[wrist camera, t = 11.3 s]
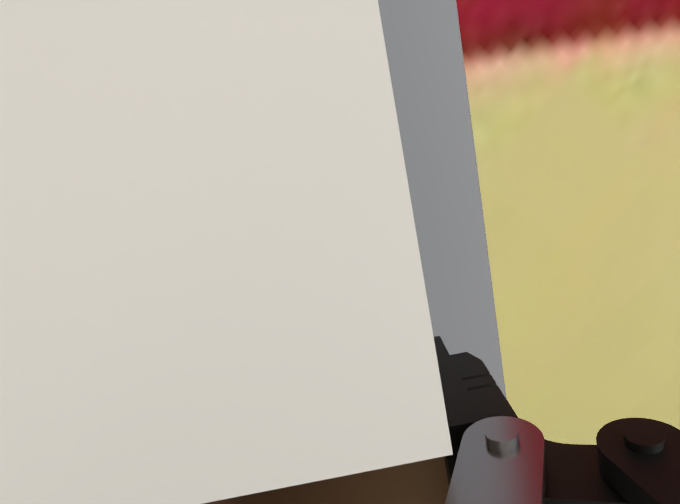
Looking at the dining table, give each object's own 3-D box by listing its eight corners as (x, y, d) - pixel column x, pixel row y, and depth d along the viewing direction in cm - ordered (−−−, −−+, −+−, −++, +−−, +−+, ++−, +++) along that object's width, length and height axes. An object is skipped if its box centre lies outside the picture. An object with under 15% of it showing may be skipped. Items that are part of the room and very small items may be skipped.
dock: (406, -131, 17) (430, -197, 13) (499, 529, 24) (532, 610, 21) (37, -53, 18) (-41, -96, 14) (236, 579, 25) (221, 668, 21)
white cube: (328, -35, 7) (341, -221, 3) (385, 274, 9) (453, 453, 4) (5, 33, 7) (-426, -53, 3) (107, 331, 9) (-100, 561, 4)
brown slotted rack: (321, -139, 11) (324, -288, 7) (464, 671, 17) (513, 863, 13) (47, -81, 11) (-123, -192, 7) (286, 704, 17) (276, 905, 13)
